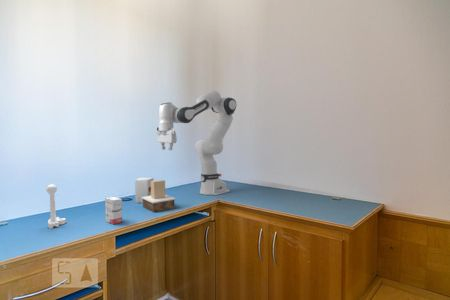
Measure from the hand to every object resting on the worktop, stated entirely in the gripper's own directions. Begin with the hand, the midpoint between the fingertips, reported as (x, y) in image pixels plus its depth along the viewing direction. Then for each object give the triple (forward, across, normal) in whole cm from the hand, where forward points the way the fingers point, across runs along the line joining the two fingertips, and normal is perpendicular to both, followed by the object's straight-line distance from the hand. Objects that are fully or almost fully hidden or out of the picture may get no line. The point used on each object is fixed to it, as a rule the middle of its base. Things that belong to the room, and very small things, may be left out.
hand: (167, 149), depth 186 cm
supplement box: (+33, +9, +12) cm, 37 cm away
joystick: (+33, -7, +64) cm, 72 cm away
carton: (+27, -11, +12) cm, 32 cm away
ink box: (+33, -21, +41) cm, 57 cm away
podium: (+33, -11, +12) cm, 37 cm away
